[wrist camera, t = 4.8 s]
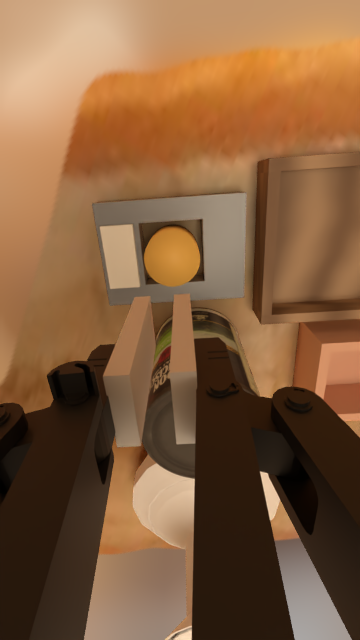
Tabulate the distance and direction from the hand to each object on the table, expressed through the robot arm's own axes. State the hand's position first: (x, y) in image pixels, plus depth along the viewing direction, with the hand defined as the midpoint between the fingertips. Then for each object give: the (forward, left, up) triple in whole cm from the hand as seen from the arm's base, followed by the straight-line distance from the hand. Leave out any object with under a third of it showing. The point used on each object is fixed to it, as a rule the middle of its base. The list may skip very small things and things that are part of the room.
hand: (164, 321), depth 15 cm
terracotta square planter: (+19, -14, -18) cm, 30 cm away
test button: (0, 0, -17) cm, 17 cm away
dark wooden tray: (+16, 0, -18) cm, 24 cm away
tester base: (0, 0, -18) cm, 18 cm away
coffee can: (+2, -12, -19) cm, 22 cm away
